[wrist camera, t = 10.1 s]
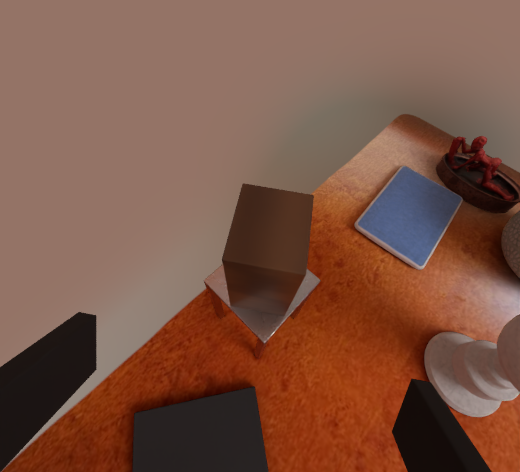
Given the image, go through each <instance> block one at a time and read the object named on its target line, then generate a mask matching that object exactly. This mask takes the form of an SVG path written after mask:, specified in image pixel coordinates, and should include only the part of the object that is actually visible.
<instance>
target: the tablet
mask: <svg viewBox="0 0 520 472" xmlns="http://www.w3.org/2000/svg"><path fill="white" fill-rule="evenodd" d="M462 202H463V199H462V197H461V196H459V195H457V194H456V193H454V192H452V191H450V190H448V189H447V188H445V187H443V186H441V185H439V184H438V183H436V182H434V181H432V180H431V179H429V178H427V177H425V176H423V175H422V174H420V173H418V172H416V171H414V170H413V169H411V168H409V167H407V166H401V167H400V168H399V169H398V170H397V172H396V173H395V174H394V175H393V177H392V178H391V179H390V180H389V181H388V183H387V184H386V185H385V186H384V188H383V189H382V190H381V191H380V192H379V194H378V195H377V196H376V197H375V199H374V200H373V201H372V202H371V203H370V205H369V206H368V207H367V208H366V210H365V211H364V212H363V213H362V215H361V216H360V217H359V218H358V219H357V221H356V222H355V224H354V226H355V228H356V229H357V230H358V231H360V232H361V233H362V234H364V235H365V236H367V237H368V238H369V239H371V240H372V241H374V242H375V243H377V244H378V245H380V246H381V247H383V248H384V249H386V250H387V251H389V252H390V253H392V254H393V255H395V256H396V257H398V258H399V259H401V260H403V261H404V262H406V263H407V264H409V265H411V266H412V267H414V268H415V269H418V270H421V269H423V268H424V267H425V265H426V264H427V262H428V260H429V258H430V257H431V255H432V253H433V252H434V250H435V248H436V247H437V245H438V243H439V242H440V240H441V238H442V236H443V235H444V233H445V231H446V230H447V228H448V226H449V224H450V223H451V221H452V220H453V218H454V216H455V215H456V212H457V211H458V209H459V207H460V205H461V203H462Z"/></svg>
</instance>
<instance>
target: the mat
mask: <svg viewBox="0 0 520 472" xmlns="http://www.w3.org/2000/svg"><path fill="white" fill-rule="evenodd" d="M132 472H268V467H267V460H266V454H265V448H264V442H263V435H262V429H261V423H260V417H259V411H258V404H257V398H256V392H255V387H249V388H245V389H240V390H236V391H231V392H227V393H222V394H218V395H213V396H208V397H204V398H199V399H195V400H190V401H186V402H181V403H177V404H172V405H168V406H163V407H159V408H154V409H150V410H145V411H141V412H136V413H134V437H133V470H132Z"/></svg>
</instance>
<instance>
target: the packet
mask: <svg viewBox="0 0 520 472" xmlns="http://www.w3.org/2000/svg"><path fill="white" fill-rule="evenodd" d="M313 198H314V196H313V195H309V194H303V193H297V192H291V191H285V190H279V189H273V188H267V187H261V186H255V185H249V184H243V185H242V188H241V192H240V195H239V199H238V203H237V206H236V210H235V214H234V217H233V221H232V225H231V228H230V232H229V236H228V239H227V243H226V247H225V250H224V254H223V258H222V262H223V268H224V273H225V279H226V284H227V289H228V295H229V300H230V306H233V307H238V308H243V309H249V310H254V311H259V312H264V313H270V314H275V315H280V316H285V314H286V312H287V310H288V308H289V307H290V305H291V303H292V301H293V299H294V297H295V295H296V293H297V291H298V289H299V287H300V286H301V284H302V282H303V280H304V278H305V276H306V272H307V261H308V251H309V240H310V230H311V219H312V208H313Z"/></svg>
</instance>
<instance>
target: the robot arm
mask: <svg viewBox="0 0 520 472" xmlns="http://www.w3.org/2000/svg"><path fill="white" fill-rule="evenodd" d="M95 370H96V315H91V314H86V313H81V312H78V313H77V314H75V315H74V316H73V317H71V318H70V319H68V320H67V321H65V322H64V323H63V324H61V325H60V326H58V327H57V328H56V329H54V330H53V331H51V332H50V333H48V334H47V335H46V336H44V337H43V338H41V339H40V340H38V341H37V342H36V343H34V344H33V345H31V346H30V347H28V348H27V349H26V350H24V351H23V352H21V353H20V354H18V355H17V356H16V357H14V358H13V359H11V360H10V361H9V362H7V363H6V364H4V365H3V366H1V367H0V472H1V471H2V470H3V469H4V468H5V466H6V465H7V464H8V463H9V462H10V461H11V460H12V459H13V458H14V457H15V456H16V455H17V454H18V453H19V452H20V450H21V449H22V448H23V447H24V446H25V445H26V444H27V443H28V442H29V441H30V440H31V439H32V438H33V436H34V435H35V434H36V433H37V432H38V431H39V430H40V429H41V428H42V427H43V426H44V425H45V424H46V423H47V422H48V420H49V419H50V418H51V417H52V416H53V415H54V414H55V413H56V412H57V411H58V410H59V409H60V408H61V407H62V406H63V405H64V403H65V402H66V401H67V400H68V399H69V398H70V397H71V396H72V395H73V394H74V393H75V392H76V390H78V388H79V387H80V386H81V385H82V384H83V383H84V382H85V381H86V380H87V379H88V378H89V376H91V375H92V373H93V372H94V371H95ZM392 433H393V436H394V438H395V441H396V443H397V446H398V448H399V451H400V453H401V456H402V458H403V461H404V463H405V466H406V468H407V471H408V472H491V470H490V469H489V467H488V466H487V464H486V463H485V461H484V460H483V458H482V457H481V455H480V454H479V452H478V451H477V449H476V448H475V446H474V445H473V443H472V442H471V441H470V439H469V438H468V436H467V435H466V433H465V432H464V430H463V429H462V427H461V426H460V424H459V423H458V421H457V420H456V418H455V417H454V415H453V414H452V412H451V411H450V409H449V408H448V406H447V405H446V404H445V402H444V401H443V399H442V398H441V396H440V395H439V393H438V392H437V390H436V389H435V387H434V386H433V384H432V383H431V382H426V381H421V380H416V379H411V382H410V384H409V387H408V390H407V392H406V395H405V398H404V400H403V403H402V406H401V408H400V411H399V414H398V416H397V419H396V422H395V424H394V427H393V430H392Z"/></svg>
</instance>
